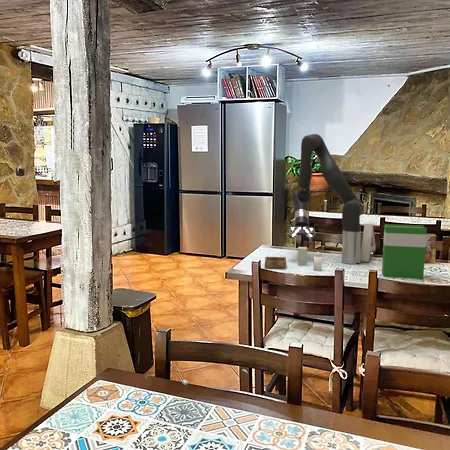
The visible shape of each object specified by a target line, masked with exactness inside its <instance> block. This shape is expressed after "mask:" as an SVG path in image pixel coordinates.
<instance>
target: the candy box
mask: <svg viewBox="0 0 450 450" xmlns="http://www.w3.org/2000/svg"><path fill="white" fill-rule="evenodd" d="M436 247H437V235H436V234H434V233H427V234H426V248H425V262H424V264H435V263H436V249H437V248H436Z"/></svg>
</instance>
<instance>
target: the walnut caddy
mask: <svg viewBox="0 0 450 450" xmlns="http://www.w3.org/2000/svg"><path fill="white" fill-rule="evenodd" d="M264 258H265V259H264V269H269V270H270V269H271V270H272V269H273V270H287V257H285V256H265V257H264Z"/></svg>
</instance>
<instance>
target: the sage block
mask: <svg viewBox="0 0 450 450" xmlns="http://www.w3.org/2000/svg"><path fill="white" fill-rule="evenodd" d="M297 265H298V266H302V267H307V266H308V247H307V246H298V247H297Z"/></svg>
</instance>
